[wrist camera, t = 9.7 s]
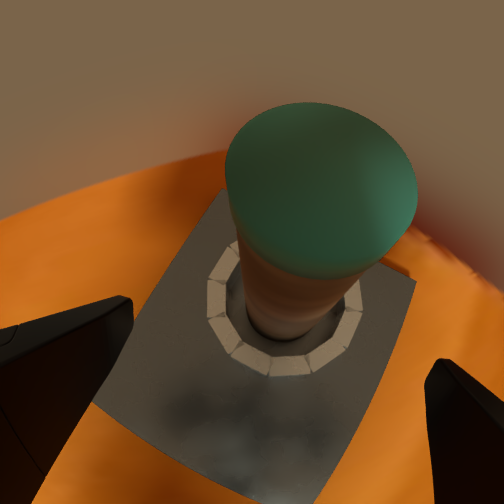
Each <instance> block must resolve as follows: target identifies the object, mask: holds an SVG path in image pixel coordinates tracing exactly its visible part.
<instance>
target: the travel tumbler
mask: <svg viewBox="0 0 504 504" xmlns="http://www.w3.org/2000/svg"><path fill="white" fill-rule="evenodd" d="M225 177H226V184H227V192H228V199H229V206H230V212H231V215H232V218H233V221H234V224H235V226H236V232H237V240H238V249H239V257H240V265H241V273H242V281H243V289H244V297H245V305H246V312H247V317H248V320H249V322H250V324H251V325H252V327H253V328H254V329H255V330H256V332H258V333H259V334H260V335H261V336H263V337H264V338H266V339H268V340H271V341H275V342H290V341H294V340H297V339H299V338H301V337H303V336H304V335H306V334H307V333H308V332H309V331H310V330H311V329H312V328H313V327H314V326H315V325H316V324H317V323H318V322H319V321H320V320H321V319H322V318H323V317H324V316H325V315H326V314H327V313H328V312H329V310H330V309H331V308H332V307H333V306H334V305H335V304H336V303H337V302H338V301H339V300H340V299H341V298H342V297H343V296H344V295H345V293H346V292H347V291H348V290H349V289H350V288H351V287H352V286H353V285H354V284H355V283H356V281H357V280H358V279H359V278H360V277H361V276H362V275H363V274H364V272H365V271H366V270H367V269H369V268H370V267H372V266H373V265H374V264H376V263H377V262H378V261H380V260H381V259H382V257H383V256H384V255H385V254H386V253H387V252H388V251H389V250H390V249H391V248H392V246H393V245H394V244H395V243H396V242H397V241H398V240H399V238H400V237H401V236H402V235H403V234H404V233H405V231H406V230H407V228H408V227H409V225H410V224H411V222H412V219H413V216H414V214H415V211H416V207H417V199H418V190H417V181H416V177H415V173H414V171H413V168H412V165H411V163H410V162H409V159H408V158H407V156H406V154H405V153H404V151H403V150H402V148H401V147H400V146H399V144H398V143H397V142H396V141H395V140H394V139H393V138H392V137H391V136H390V135H389V134H388V133H387V132H386V131H385V130H384V129H382V128H381V127H380V126H378V125H377V124H376V123H374V122H372V121H371V120H369V119H367V118H366V117H364V116H362V115H360V114H358V113H355V112H353V111H350V110H348V109H345V108H341V107H338V106H333V105H329V104H321V103H293V104H287V105H282V106H279V107H275V108H272V109H270V110H267V111H265V112H263V113H262V114H259V115H258V116H256V117H255V118H253V119H252V120H250V121H249V122H248V123H246V124H245V125H244V126H243V127H242V128H241V129H240V131H239V132H238V133H237V134H236V136H235V137H234V139H233V141H232V143H231V145H230V147H229V150H228V152H227V156H226V162H225Z"/></svg>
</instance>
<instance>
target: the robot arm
mask: <svg viewBox="0 0 504 504" xmlns="http://www.w3.org/2000/svg"><path fill="white" fill-rule="evenodd" d="M133 326H134V315H133V302H132V300H131V299H130V298H128V297H124V296H121V295H117V296H114V297H111V298H107V299H104V300H100V301H97V302H94V303H90V304H87V305H83V306H80V307H76V308H73V309H70V310H66V311H63V312H59V313H56V314H52V315H49V316H45V317H42V318H39V319H35V320H32V321H28V322H25V323H21V324H19V325H14V326H11V327H7V328H3V329H0V504H31V503H32V501H33V499H34V498H35V496H36V494H37V492H38V490H39V489H40V487H41V485H42V483H43V482H44V480H45V477H46V476H47V474H48V472H49V471H50V469H51V467H52V465H53V464H54V462H55V460H56V459H57V457H58V455H59V454H60V452H61V450H62V448H63V447H64V445H65V443H66V442H67V440H68V439H69V437H70V435H71V434H72V432H73V430H74V429H75V427H76V425H77V424H78V422H79V421H80V419H81V417H82V416H83V414H84V413H85V411H86V409H87V408H88V406H89V405H90V403H91V401H92V400H93V398H94V397H95V395H96V394H97V392H98V390H99V389H100V387H101V386H102V384H103V383H104V381H105V380H106V378H107V377H108V375H109V373H110V372H111V370H112V369H113V367H114V365H115V363H116V361H117V359H118V357H119V355H120V353H121V351H122V349H123V347H124V345H125V343H126V341H127V339H128V337H129V335H130V333H131V331H132V329H133ZM424 390H425V404H426V422H427V433H428V440H429V448H430V456H431V465H432V475H433V487H434V503H435V504H504V402H503V401H502V400H501V399H499V398H498V397H497V396H496V395H494V394H493V393H492V392H491V391H490V390H488V389H487V388H486V387H485V386H483V385H482V384H481V383H480V382H478V381H477V380H476V379H475V378H473V377H472V376H471V375H470V374H468V373H467V372H466V371H464V370H463V369H462V368H461V367H459V366H458V365H457V364H456V363H454V362H453V361H452V360H450V359H443V358H439V359H437V360H436V362H435V363H434V365H433V367H432V369H431V370H430V372H429V374H428V376H427V378H426V380H425V383H424Z"/></svg>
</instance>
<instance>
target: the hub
mask: <svg viewBox="0 0 504 504" xmlns="http://www.w3.org/2000/svg"><path fill="white" fill-rule="evenodd" d="M416 282H417V281H415V280H413V279H411V278H409V277H407V276H405V275H403V274H401V273H399V272H398V271H396V270H394V269H392V268H390V267H388V266H386V265H384V264H382V263H380V262H377V263H376V264H374V265H373V266H372V267H370V268H369V269H367V270H366V271H365V272H364V274H363V275H362V276H361V277H360V278H359V279H358V280H357V281H356V283H355V284H354V285H353V286H352V287H351V288H350V289H349V290H348V291H347V292H346V293H345V295H344V296H343V297H342V298H341V299H340V300H339V301H338V302H337V303H336V304H335V305H334V306H333V307H332V308H331V309H330V310H329V312H328V313H327V314H326V315H325V316H324V317H323V318H322V319H321V320H320V321H319V322H318V323H317V324H316V325H315V326H314V327H313V328H312V329H311V330H310V331H309V332H308V333H307V334H306V335H304V336H303V337H301V338H299V339H297V340H294V341H290V342H275V341H271V340H268V339H266V338H264V337H263V336H261V335H260V334H259V333H258V332H256V330H255V329H254V328H253V327H252V325H251V324H250V322H249V320H248V317H247V312H246V305H245V297H244V289H243V281H242V273H241V265H240V257H239V249H238V240H237V232H236V226H235V224H234V221H233V218H232V215H231V212H230V206H229V199H228V192H227V190H225V189H221V191H220V192H219V193H218V195H217V196H216V198H215V199H214V200H213V202H212V203H211V205H210V206H209V208H208V209H207V210H206V212H205V213H204V215H203V216H202V218H201V219H200V221H199V222H198V224H197V225H196V226H195V228H194V229H193V231H192V232H191V234H190V235H189V237H188V238H187V240H186V241H185V243H184V244H183V246H182V247H181V249H180V250H179V252H178V253H177V255H176V256H175V258H174V259H173V261H172V262H171V264H170V265H169V267H168V269H167V270H166V272H165V273H164V275H163V276H162V278H161V279H160V281H159V282H158V284H157V286H156V287H155V289H154V290H153V292H152V293H151V295H150V297H149V298H148V300H147V301H146V303H145V305H144V306H143V308H142V310H141V311H140V313H139V314H138V316H137V318H136V319H135V321H134V326H133V329H132V331H131V333H130V335H129V337H128V339H127V341H126V343H125V345H124V347H123V349H122V351H121V353H120V355H119V357H118V359H117V361H116V363H115V365H114V367H113V369H112V370H111V372H110V373H109V375H108V377H107V378H106V380H105V381H104V383H103V384H102V386H101V387H100V389H99V390H98V392H97V394H96V395H95V397H94V398H93V400H92V402H93V403H95V404H96V405H97V406H98V407H99V408H101V409H102V410H103V411H105V412H106V413H107V414H108V415H110V416H111V417H112V418H114V419H115V420H116V421H118V422H119V423H120V424H122V425H123V426H124V427H126V428H127V429H129V430H130V431H131V432H133V433H134V434H136V435H137V436H139V437H140V438H142V439H143V440H145V441H146V442H148V443H149V444H151V445H152V446H154V447H155V448H157V449H158V450H160V451H161V452H163V453H165V454H166V455H168V456H170V457H171V458H173V459H174V460H176V461H178V462H180V463H181V464H183V465H185V466H186V467H188V468H190V469H192V470H194V471H195V472H197V473H199V474H201V475H203V476H205V477H206V478H208V479H210V480H212V481H214V482H216V483H218V484H220V485H222V486H224V487H226V488H228V489H230V490H233V491H235V492H237V493H239V494H241V495H243V496H246V497H248V498H250V499H252V500H255V501H257V502H260V503H262V504H313V503H314V501H315V500H316V498H317V497H318V495H319V494H320V492H321V490H322V489H323V487H324V486H325V484H326V483H327V481H328V479H329V478H330V476H331V475H332V473H333V471H334V470H335V468H336V466H337V464H338V463H339V461H340V459H341V458H342V456H343V454H344V452H345V451H346V449H347V447H348V445H349V443H350V441H351V440H352V438H353V436H354V434H355V432H356V430H357V428H358V426H359V424H360V422H361V420H362V418H363V416H364V414H365V412H366V410H367V408H368V406H369V404H370V402H371V400H372V398H373V396H374V393H375V391H376V389H377V387H378V385H379V382H380V380H381V378H382V376H383V373H384V371H385V368H386V366H387V364H388V361H389V359H390V356H391V354H392V351H393V349H394V346H395V344H396V341H397V338H398V336H399V333H400V330H401V328H402V325H403V322H404V319H405V316H406V313H407V310H408V307H409V304H410V301H411V298H412V295H413V292H414V289H415V286H416Z"/></svg>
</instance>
